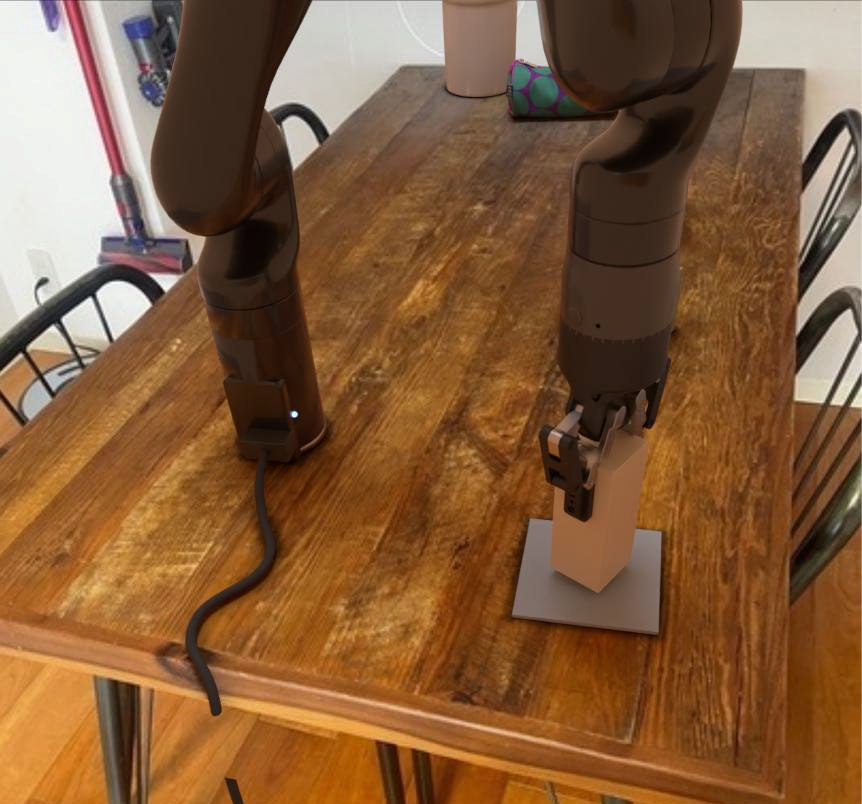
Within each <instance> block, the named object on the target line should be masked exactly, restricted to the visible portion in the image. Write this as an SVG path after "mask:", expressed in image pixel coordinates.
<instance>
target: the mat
mask: <svg viewBox="0 0 862 804" xmlns="http://www.w3.org/2000/svg"><path fill="white" fill-rule="evenodd" d="M552 526H553V520H551V519H540V518H532V517H531V518H529V522H528V528H527V533H526V539H525V543H524V548H523V555H522V560H521V563H520V564H521V565H520V570H519V576H518V581H517V586H516V591H515V596H514V601H513V607H512V613H511V618H515V619H522V620H531V621H539V622H548V623H555V624H565V625H572V626H581V627H588V628H589V627H590V628H597V629H605V630H612V631H621V632H629V633H638V634H646V635H647V634H648V635H655V636H659V632H660V630H659V629H660V598H661V596H660V595H661V591H660V590H661V568H662V567H661V565H662V538H663V537H662V531H661V530H652V529H643V528H636V529H635V536H634V542H633V549H632V555H631V561H630V562H629V563H628V564H627V565H626V566H625V567H624V568H623V569H622V570H621V571H620V572H619V573H618V574H617V575H616V576H615V577H614V578H613V579H612V580H611V581H610V582H609V583H608V584H607V585H606V586H605V587H604V588H603V589H602V590H601V591H600V592H599V593H597V592H595V591H593V590H591V589H589V588H588V587H586V586H584V585H582V584H580V583H579V582H577V581H575V580H573V579H571V578H569V577H568V576H566V575H564V574H562V573H560V572H559V571H557V570H555V569H553V568H551V567H550V560H551V543H552Z"/></svg>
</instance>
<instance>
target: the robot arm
mask: <svg viewBox="0 0 862 804" xmlns="http://www.w3.org/2000/svg"><path fill="white" fill-rule="evenodd" d="M313 1H314V0H183V3H182V5H183V6H182V10H181V11H182V13H181V20H180V25H179V26H180V27H179V34H178V40H177V45H176V50H175V55H174V60H173V64H172V68H171V72H170V76H169V80H168V82H167V83H168V84H167V87H166V91H165V94H164V98H163V103H162V106H161V111H160V113H159V117H158V121H157V124H156V129H155V132H154V135H153V139H152V144H151V148H150V149H151V150H150V160H149V165H150V177H151V182H152V186H153V190H154V193H155V195H156V198H157V200H158V201H159V202H158V203H159V204H160V206H161V208H162V209H163V211H164V212H165V214H166V215H167V217H168V218H169V219H170V220H171V221H172V223H174V224H175V225H176V226H177V227H179V228H180V229H181V230H183V231H185V233H189V234H191V235H194V236H198V237H204V242H203V246H202V249H201V251H200V253H199V257H198V260H197V264H196V278H197V282H198V286H199V289H200V293H201V296H202V300H203V304H204V307H205V310H206V314H207V318H208V323H209V326H210V330H211V334H212V337H213V341H214V345H215V349H216V352H217V356H218V360H219V363H220V367H221V368H220V369H221V372H222V375H223V380H222V386H223V389H224V393H225V397H226V400H227V404H228V407H229V412H230V415H231V419H232V422H233V426H234V430H235V432H236V433H235V434H236V437H237V442H238V444H239V448H240V452H241V456H243V457H244V459H247V460H248V459H249V460H257V466H256V469H255V477H254V498H255V505H256V513H257V518H258V523H259V527H260V530H261V533H262V535H263V538H264V541H265V553H264V556H263V557H262V560H261V562H260V563H259V565H258V566H257V567H256V569H254V570H253V571H252V572H251V573H250V574H248V575H247V576H246V577H244V578H242V579H241V580H238V581H237V582H236V583H233V584H232V585H230V586H228V587H226V588H225V589H223V590H221V591H220V592H217V593H216V594H214V595H212V596H211V597H209V598H208V599H207V600H205V602H203V603H202V604H201V605H199V607H198V608H197V609H196V610H195V611H194V612H193V614H192V616H191V618H190V619H189V622H188V624H187V628H186V630H185V631H186V632H185V642H184V643H185V649H186V652H187V654H188V656H189V658H190V661H191V662H192V664H193V666H194V667H195V670H196V671H197V673H198V675H199V677H200V679H201V681H202V684H203V686H204V689H205V692H206V697H207V700H208V705H209V710H210V714H211V716H213V717H218V716H220V715H221V714H222V712H223V707H222V702H221V697H220V694H219V690H218V686H217V684H216V681H215V678H214V675H213V674H212V672H211V669H210V668H209V666H208V664H207V662H206V661H205V659H204V657H203V656H202V654H201V651H200V649H199V646H198V643H197V633H198V629H199V627H200V624H201V623H202V621H203V619H204V618H205V617H206V616H207V614H208V613H209V612H210V611H212V610H213V609H214V608H216V607H217V606H218V605H220V604H221V603H223V602H225V601H226V600H228V599H230V598H232V597H234V596H235V595H237V594H239V593H241V592H243V591H244V590H246V589H248V588H250V587H251V586H252V585H254V584H255V583H256V582H258V581H259V580H260V579H261V578H262V577H264V576H265V574H266V573H267V572H268V570H269V569H270V567H271V566H272V564H273V562H274V558H275V556H276V541H275V536H274V533H273V530H272V528H271V525H270V521H269V518H268V512H267V506H266V499H265V491H264V489H265V488H264V485H265V483H264V481H265V474H266V468H267V464H268V461H269V462H281V463H290V461H292V462H295V461H298V460H299V458H300V456H302V454H305V453H306V452H309V451H310V450H312V449H313V448H315V447H317V446H318V444H320V442H322V441H323V439H324V437H325V435H326V434H327V429H328V425H327V419H326V415H325V414H324V408H323V402H322V397H321V392H320V385H319V380H318V375H317V369H316V364H315V358H314V353H313V348H312V342H311V336H310V330H309V326H308V320H307V315H306V309H305V303H304V302H305V301H304V298H303V297H304V296H303V292H302V291H303V290H302V286H301V280H300V275H299V269H298V262H299V255H300V251H301V250H300V248H301V230H300V222H299V215H298V207H297V200H296V192H295V184H294V178H293V177H294V176H293V170H292V165H291V159H290V155H289V151H288V147H287V143H286V141H285V138H284V136H283V133H282V131H281V129H280V127H279V125H278V123H277V122H276V120H275V119H274V117H273V116H272V115H271V113H270V112H269V111H268V110H267V108H265V107H266V104H267V99H268V96H269V94H270V90H271V87H272V84H273V82H274V80H275V78H276V76H277V73H278V70H279V69H280V67H281V64H282V63H283V60H284V59H285V57H286V55H287V53H288V51H289V49H290V47H291V46H292V43H293V41H294V39H295V38H296V36H297V33H298V32H299V29H300V28H301V25H302V24H303V22H304V19H305V17H306V16H307V13H308V11H309V9H310V8H311V5H312V3H313ZM535 2H536V10H537V16H538V24H539V25H538V26H539V32H540V38H541V44H542V49H543V53H544V55H545V56H544V57H545V60H546V63H547V65H548V66H547V67H549V68H550V70H551V72H552V74H553V76H554V78H555V80H556V81H557V83H558V84H559V86H560V87H561V88H562V90H563V91H564V92H565V93H566V94H567V95H568V96H569V98H571V99H572V100H573V101H574V102H575V103H576V104H578V105H579V106H581V107H583V108H584V109H586V110H589V111H592V112H596V113H604V114H607V113H612V112H614V111H618V110H620V111H618V112H617V113H618V114H617V115H616V117H615V119H614V120H613V122H612V123H611V124H610V125H609V127H608V128H607V129H606V130H604V131H603V132H602V133H600V134H599V135H598V136H596V137H595V138H593V139H592V140H591V141H589V143H587V144H586V145H585V146H584V147H583V148H581V150H580V151H579V152H578V154H577V155H576V157H575V158H574V161H573V164H572V167H571V172H570V173H571V174H570V182H569V195H568V199H569V200H568V214H567V215H568V217H567V218H568V219H567V239H566V249H565V254H564V259H563V263H562V264H563V265H562V271H561V279H560V301H559V302H560V305H559V322H558V342H557V343H558V344H557V365H558V368H559V370H560V372H561V374H562V376H564V378H565V381H566V382H567V384H568V386H569V389H570V390H569V395H568V398H567V401H566V404H565V409H564V414H565V417H564V418H563V419H562V420H561V421H560V422H559V424H558V425H557V426H556V427H554V426H551V425H549V424H544V425H543V426H542V427H541V428H540V430H539V432H538V442H539V447H540V453H541V458H542V465H543V471H544V476H545V481H546V483H547V484H550V485H551V486H553V487H554V488H555V487H557V488H560V489H562V490H564V491H565V494H564V499H565V500H564V512H565V513H567V514H568V515H570V516H572V517H574V518H576V519H578V520H580V521H582V522H587V521H588V520H589V519H590V518H591V517H592V511H593V501H594V491H595V484H594V483H595V480H596V477H597V472H598V467H599V466H600V463H601V462H602V461H604V460H607V459H608V458H609V455H610V452H611V448H612V445H613V442H614V438H615V435H616V432H617V430H619V429H621V430H624V431H626V432H628V434H629V435H631V436H634V435H635V436H638V437H640V438H642V439H644V438H643V437H644V429H647V430H651V429H652V428H653V427H654V426H655V424H656V421H657V417H658V413H659V409H660V406H661V402H662V399H663V394H664V391H665V387H666V384H667V380H668V376H669V372H670V369H671V364H672V358H671V357H669V351H670V344H671V338H672V333H673V331H672V325H673V318H674V311H675V304H676V298H677V291H678V285H679V272H680V267H681V266H680V256H681V255H680V253H681V244H682V243H681V242H682V237H683V236H682V235H683V229H684V224H685V216H686V209H687V201H688V192H689V184H690V183H689V182H690V178H691V176H692V174H693V171H694V168H695V166H696V163H697V161H698V159H699V157H700V155H701V153H702V151H703V148H704V146H705V144H706V141H707V139H708V136H709V133H710V130H711V129H712V126H713V123H714V120H715V119H716V115H717V112H718V110H719V107H720V105H721V102H722V99H723V97H724V94H725V91H726V89H727V86H728V83H729V81H730V78H731V75H732V72H733V70H734V65H735V62H736V59H737V56H738V51H739V47H740V43H741V36H742V29H743V12H744V11H743V9H744V8H743V0H536V1H535ZM646 401H647V407H645V402H646ZM579 434H580V435H581V436H583V437H585V438H588V439H590V440H592V441H595V442H599V445H598V447H597V446H594V445H592V444H590V443H588V442H585V441H583V440H581V439H580V437H579ZM579 456H581V457H583V458H585V459H586V460H587V466H586V470H583V469H581V465H580V457H579ZM224 781H225V784H226V787H227V790H228V793H229V796H230V800H231V803H232V804H245V803H244V800H243V797H242V794H241V790H240V787H239V784H238V780H237V779H236V778H231V777H230V778H229V777H224Z"/></svg>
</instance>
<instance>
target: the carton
mask: <svg viewBox="0 0 862 804" xmlns="http://www.w3.org/2000/svg"><path fill="white" fill-rule="evenodd" d="M579 437H580V439H581V440H583V441H585V442H588V443H590V444H592V445H594V446H597V447H598V445H599V442H595V441H592V440H590V439H588V438H585V437H583V436H581V435H580V434H579ZM648 450H649V440H647V439H645V438H640V437H638V436H635V435H634V436H631V435H629V434H628V432H626V431H624V430H621V429H619V430H617V432H616V435H615V438H614V442H613V445H612V448H611V452H610V455H609V458H608V459H607V460H604V461H602V462H601V463H600V466H599V467H598V472H597V477H596V480H595V483H594V484H595V491H594V501H593V511H592V517H591V518H590V519H589V520H588V521H587V522H582V521H580V520H578V519H576V518H574V517H572V516H570V515H568V514H567V513H565V512H564V500H565V499H564V494H565V491H564V490H562V489H560V488H557V487H555V486H554V492H553V493H554V495H553V509H552V510H553V511H552V521H553V526H552V543H551V560H550V567H551V568H553V569H555V570H557V571H559V572H560V573H562V574H564V575H566V576H568V577H569V578H571V579H573V580H575V581H577V582H579V583H580V584H582V585H584V586H586V587H588V588H589V589H591V590H593V591H595V592H597V593H599V592H600V591H601V590H602V589H603V588H604V587H605V586H606V585H607V584H608V583H609V582H610V581H611V580H612V579H613V578H614V577H615V576H616V575H617V574H618V573H619V572H620V571H621V570H622V569H623V568H624V567H625V566H626V565H627V564H628V563H629V562H630V561H631V555H632V549H633V542H634V536H635V529H637V522H638V516H639V515H638V514H639V509H640V502H641V496H642V488H643V482H644V476H645V469H646V462H647V455H648ZM579 457H580V465H581V469H583V470H586V466H587V460H586V459H585V458H583V457H581V456H579Z"/></svg>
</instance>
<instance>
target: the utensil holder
mask: <svg viewBox="0 0 862 804" xmlns="http://www.w3.org/2000/svg"><path fill="white" fill-rule="evenodd" d="M441 9H442V10H441V11H442V32H443V46H444V47H443V52H444V53H443V54H444V71H445V84H446V89H447V91H448V92H450V93H451V94H453V95H457V96H461V97H469V98H485V97H494V96H497V95H501V94H504V93H506V89H507V78H508V72H509V69H510V66H511V64H512V63H513V62H515V60H517V58H516V57H517V56H516V55H517V54H516V53H517V26H518V24H517V23H518V0H441Z"/></svg>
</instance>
